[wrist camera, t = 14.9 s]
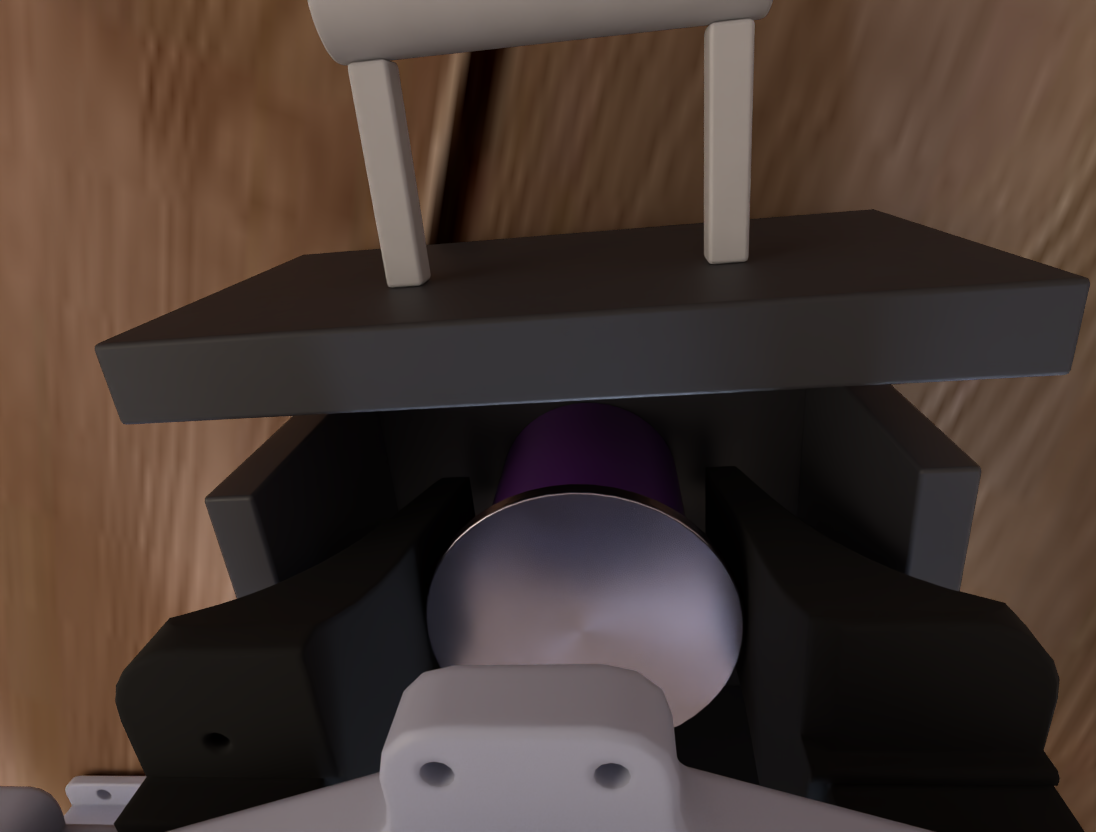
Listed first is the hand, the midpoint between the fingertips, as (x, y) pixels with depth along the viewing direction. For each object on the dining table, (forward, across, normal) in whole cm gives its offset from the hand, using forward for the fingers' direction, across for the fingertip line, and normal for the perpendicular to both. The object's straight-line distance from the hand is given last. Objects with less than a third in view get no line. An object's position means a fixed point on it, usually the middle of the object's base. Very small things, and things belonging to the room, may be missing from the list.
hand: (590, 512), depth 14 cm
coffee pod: (+1, 0, 0) cm, 1 cm away
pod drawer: (+3, 0, -2) cm, 3 cm away
